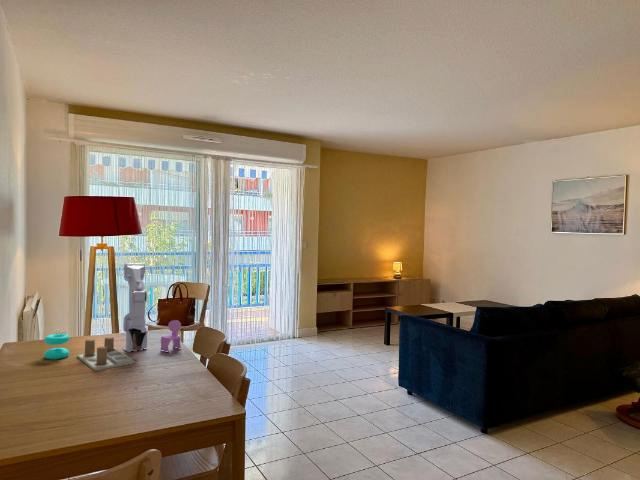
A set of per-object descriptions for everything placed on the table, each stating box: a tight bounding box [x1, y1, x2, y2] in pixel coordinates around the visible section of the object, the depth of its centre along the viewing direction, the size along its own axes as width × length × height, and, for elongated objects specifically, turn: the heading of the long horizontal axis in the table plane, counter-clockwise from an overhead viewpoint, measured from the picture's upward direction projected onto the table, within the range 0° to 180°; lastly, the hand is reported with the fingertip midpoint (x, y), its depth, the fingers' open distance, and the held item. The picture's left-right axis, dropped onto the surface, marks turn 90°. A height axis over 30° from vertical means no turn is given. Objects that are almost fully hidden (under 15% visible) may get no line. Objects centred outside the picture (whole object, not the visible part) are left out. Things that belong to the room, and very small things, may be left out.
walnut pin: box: [132, 334, 142, 351], centre depth 205 cm, size 4×4×7 cm
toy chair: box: [160, 319, 182, 352], centre depth 219 cm, size 8×9×15 cm
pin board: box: [76, 336, 136, 371], centre depth 199 cm, size 17×24×8 cm
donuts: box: [43, 333, 70, 360], centre depth 201 cm, size 10×10×10 cm
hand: (137, 344), depth 205 cm, fingers closed on walnut pin, 4 cm apart
